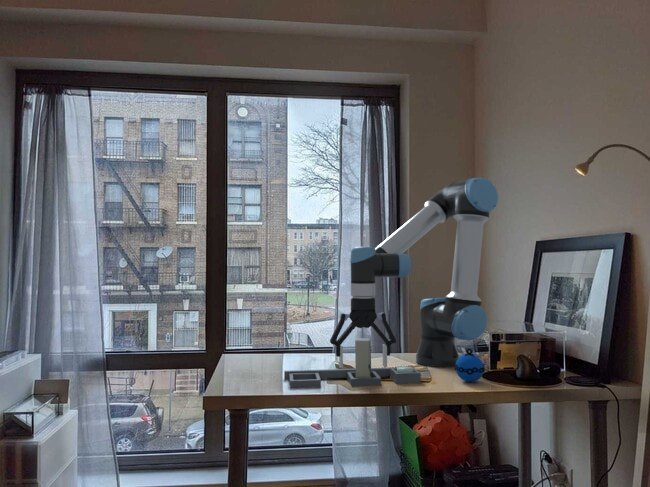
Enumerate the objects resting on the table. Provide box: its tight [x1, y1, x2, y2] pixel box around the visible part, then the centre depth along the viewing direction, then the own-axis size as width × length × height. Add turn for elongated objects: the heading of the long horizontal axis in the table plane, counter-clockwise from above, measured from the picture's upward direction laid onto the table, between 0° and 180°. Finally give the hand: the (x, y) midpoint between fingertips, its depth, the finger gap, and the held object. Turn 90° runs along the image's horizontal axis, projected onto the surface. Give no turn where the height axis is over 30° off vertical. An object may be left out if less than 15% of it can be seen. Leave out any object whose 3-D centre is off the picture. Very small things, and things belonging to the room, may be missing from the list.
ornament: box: [454, 348, 485, 383], centre depth 148 cm, size 9×9×10 cm
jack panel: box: [283, 367, 391, 389], centre depth 149 cm, size 38×11×2 cm, turn 96°
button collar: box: [389, 366, 422, 385], centre depth 150 cm, size 8×8×3 cm
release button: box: [396, 365, 413, 373], centre depth 150 cm, size 5×5×2 cm
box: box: [354, 337, 372, 378], centre depth 149 cm, size 5×4×13 cm
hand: (363, 366), depth 148 cm, fingers open, 13 cm apart
